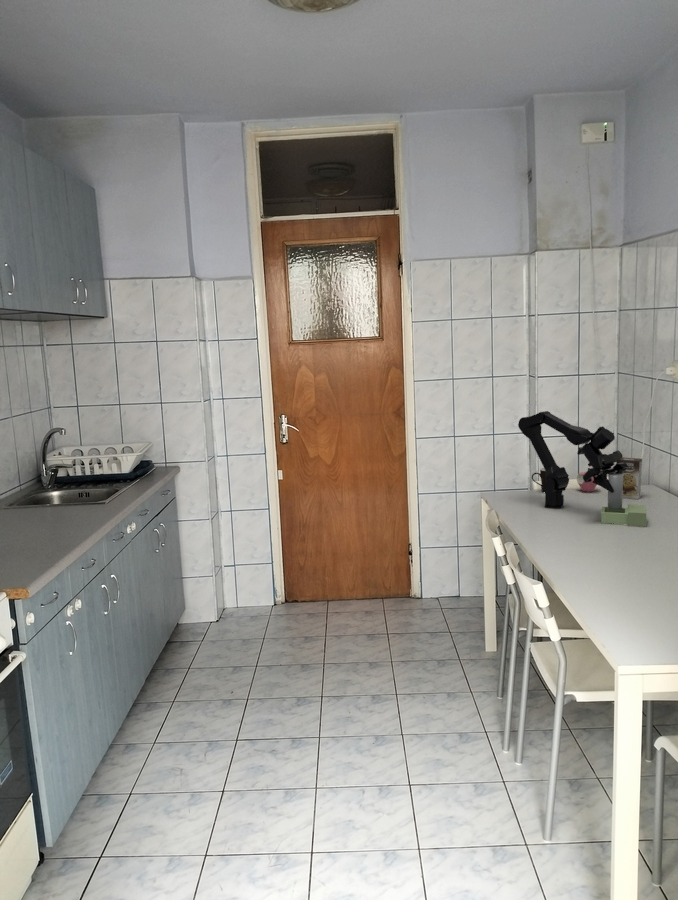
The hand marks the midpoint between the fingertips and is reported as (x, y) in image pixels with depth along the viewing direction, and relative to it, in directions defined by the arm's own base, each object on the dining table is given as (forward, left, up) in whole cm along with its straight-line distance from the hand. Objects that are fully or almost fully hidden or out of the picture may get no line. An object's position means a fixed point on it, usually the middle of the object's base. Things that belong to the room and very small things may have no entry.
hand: (618, 491), depth 267 cm
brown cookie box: (+4, +40, -12) cm, 42 cm away
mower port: (+2, +1, -11) cm, 12 cm away
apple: (-12, +47, -12) cm, 50 cm away
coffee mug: (-29, +43, -12) cm, 53 cm away
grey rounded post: (-1, +1, -7) cm, 7 cm away
